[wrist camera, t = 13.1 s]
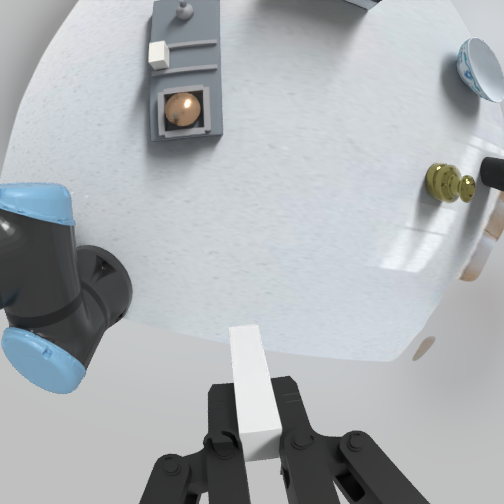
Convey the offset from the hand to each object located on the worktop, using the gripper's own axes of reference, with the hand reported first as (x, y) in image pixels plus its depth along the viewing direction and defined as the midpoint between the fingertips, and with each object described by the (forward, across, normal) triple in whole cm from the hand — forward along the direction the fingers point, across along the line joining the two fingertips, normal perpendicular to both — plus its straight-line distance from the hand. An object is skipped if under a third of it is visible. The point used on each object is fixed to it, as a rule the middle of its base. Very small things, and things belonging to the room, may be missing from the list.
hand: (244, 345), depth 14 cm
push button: (+26, -5, +16) cm, 31 cm away
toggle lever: (+24, -5, +32) cm, 41 cm away
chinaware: (+30, +53, +33) cm, 69 cm away
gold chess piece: (+30, +41, +6) cm, 51 cm away
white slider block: (+26, -8, +24) cm, 37 cm away
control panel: (+29, -5, +24) cm, 39 cm away
